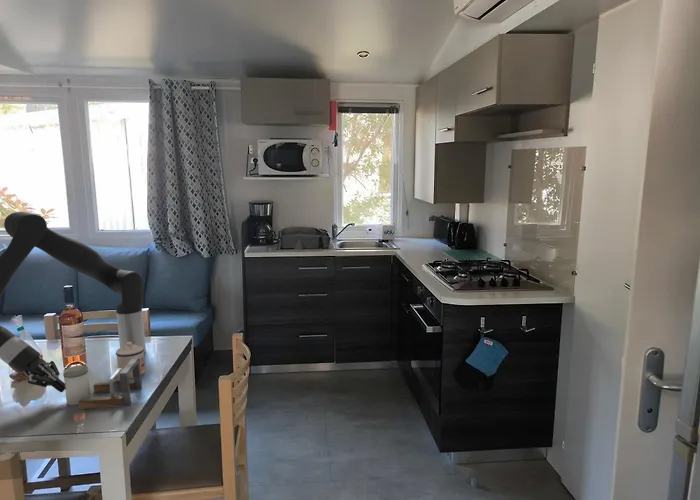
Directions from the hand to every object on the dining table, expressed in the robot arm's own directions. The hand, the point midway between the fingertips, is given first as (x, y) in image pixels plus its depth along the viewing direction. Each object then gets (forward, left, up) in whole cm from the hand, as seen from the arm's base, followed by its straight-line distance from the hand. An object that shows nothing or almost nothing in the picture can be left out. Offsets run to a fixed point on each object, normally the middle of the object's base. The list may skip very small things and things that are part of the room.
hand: (64, 389), depth 152 cm
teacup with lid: (-20, +14, -4) cm, 25 cm away
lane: (0, +13, -4) cm, 14 cm away
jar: (0, +4, -4) cm, 6 cm away
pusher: (0, +18, -3) cm, 18 cm away
